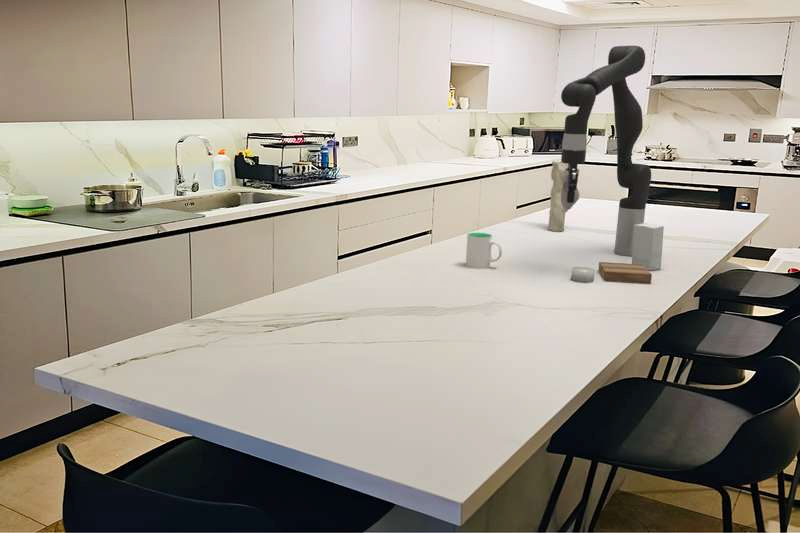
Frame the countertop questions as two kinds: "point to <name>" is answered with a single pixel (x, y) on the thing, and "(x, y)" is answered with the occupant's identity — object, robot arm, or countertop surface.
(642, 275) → the walnut block
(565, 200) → the grey rock
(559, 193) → the beige tall lumpy column
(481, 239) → the mug
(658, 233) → the skincare box
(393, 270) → the countertop surface
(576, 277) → the pale grey round piece
